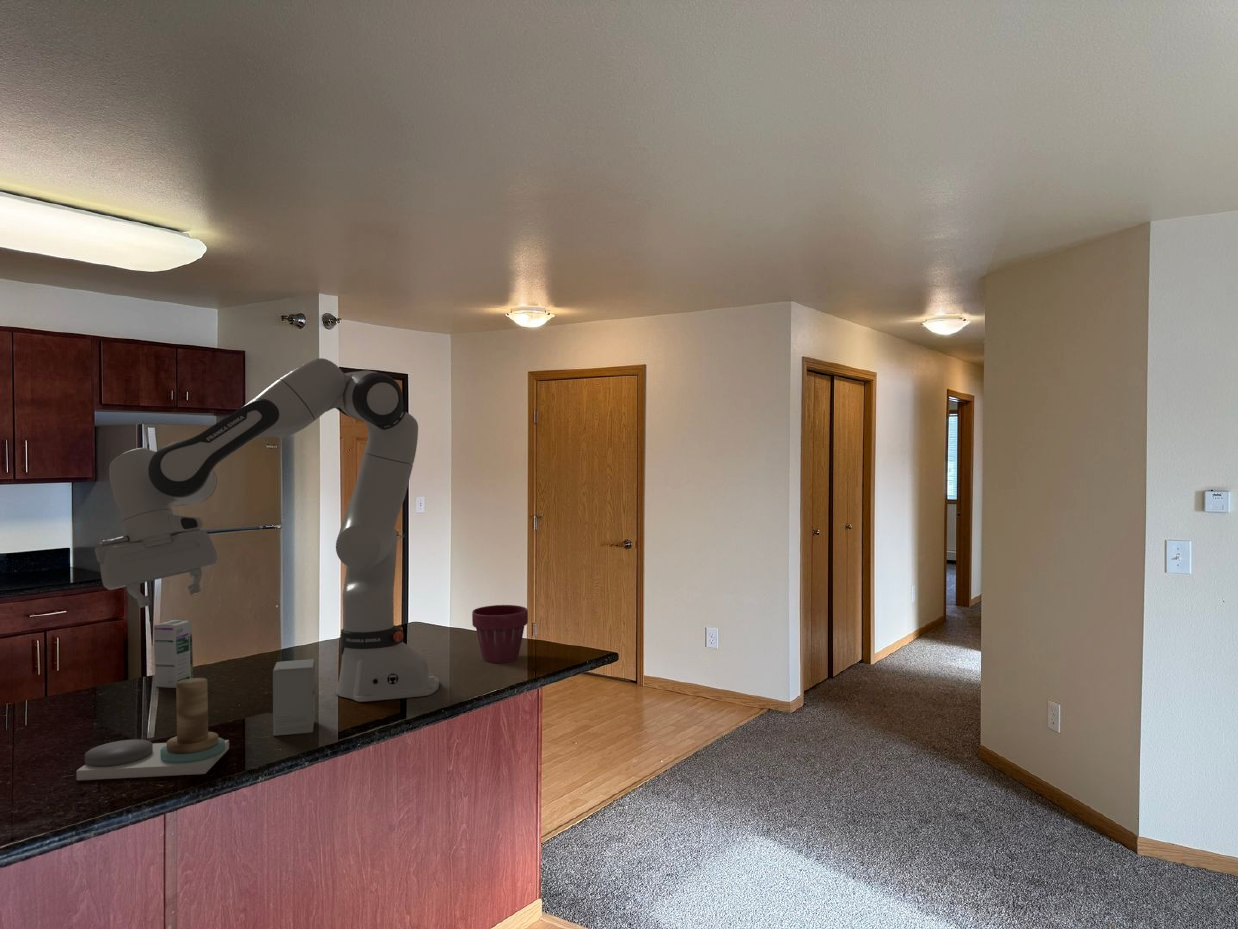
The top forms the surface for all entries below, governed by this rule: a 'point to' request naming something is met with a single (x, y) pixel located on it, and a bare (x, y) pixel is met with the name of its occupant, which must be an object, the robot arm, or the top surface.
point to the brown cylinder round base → (192, 719)
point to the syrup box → (173, 652)
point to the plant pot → (500, 631)
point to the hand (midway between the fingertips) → (171, 599)
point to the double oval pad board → (146, 760)
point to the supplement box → (293, 697)
